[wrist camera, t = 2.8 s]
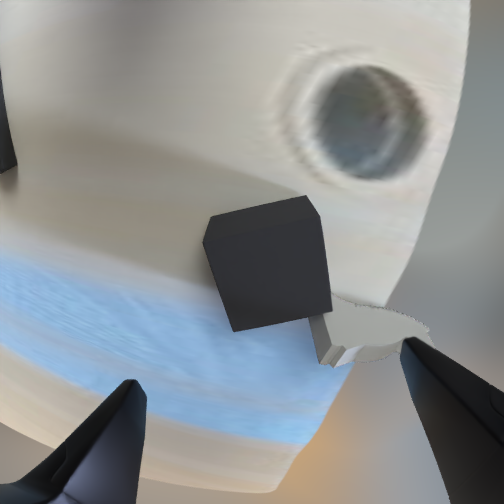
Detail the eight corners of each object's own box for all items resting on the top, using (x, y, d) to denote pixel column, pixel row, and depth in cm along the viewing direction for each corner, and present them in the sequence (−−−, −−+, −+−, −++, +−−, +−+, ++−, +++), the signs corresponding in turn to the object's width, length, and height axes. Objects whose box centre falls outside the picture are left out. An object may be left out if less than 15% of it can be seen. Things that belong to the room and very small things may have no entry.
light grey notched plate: (313, 284, 19) (424, 319, 21) (304, 302, 20) (415, 332, 21) (332, 346, 14) (457, 370, 15) (319, 365, 15) (445, 384, 16)
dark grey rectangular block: (306, 194, 17) (320, 215, 13) (320, 278, 19) (333, 311, 16) (210, 216, 17) (201, 242, 14) (235, 296, 19) (233, 332, 16)
